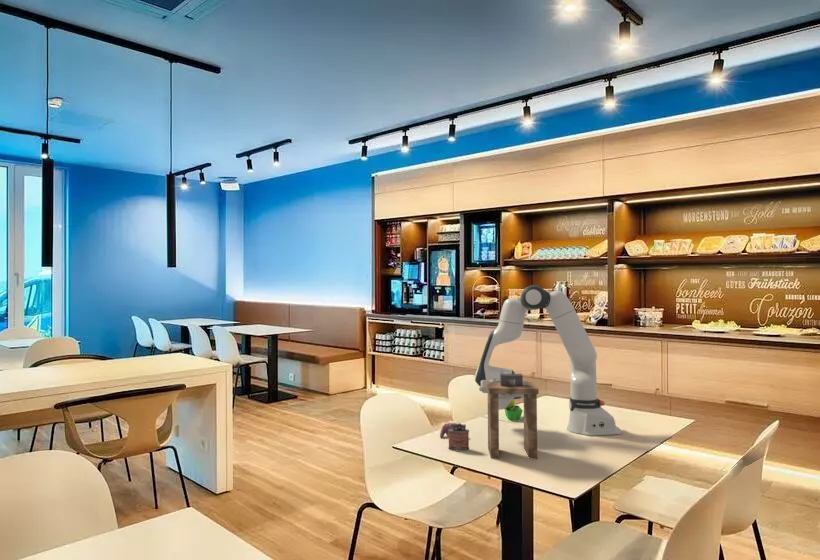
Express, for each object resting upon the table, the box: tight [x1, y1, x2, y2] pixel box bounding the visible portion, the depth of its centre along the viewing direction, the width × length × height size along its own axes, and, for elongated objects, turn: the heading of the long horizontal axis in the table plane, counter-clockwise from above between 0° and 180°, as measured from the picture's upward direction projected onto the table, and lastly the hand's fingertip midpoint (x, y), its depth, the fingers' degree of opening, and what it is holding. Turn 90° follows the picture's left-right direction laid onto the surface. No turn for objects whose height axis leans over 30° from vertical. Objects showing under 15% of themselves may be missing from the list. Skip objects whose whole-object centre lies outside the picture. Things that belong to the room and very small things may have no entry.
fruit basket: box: [504, 399, 524, 421], centre depth 261 cm, size 11×9×11 cm
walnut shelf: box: [486, 381, 539, 460], centre depth 206 cm, size 18×14×26 cm
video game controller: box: [439, 422, 458, 439], centre depth 229 cm, size 10×5×7 cm, turn 71°
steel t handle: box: [500, 372, 524, 386], centre depth 214 cm, size 8×18×4 cm, turn 177°
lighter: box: [448, 422, 470, 451], centre depth 212 cm, size 8×3×10 cm, turn 84°
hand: (505, 379), depth 224 cm, fingers open, 8 cm apart
